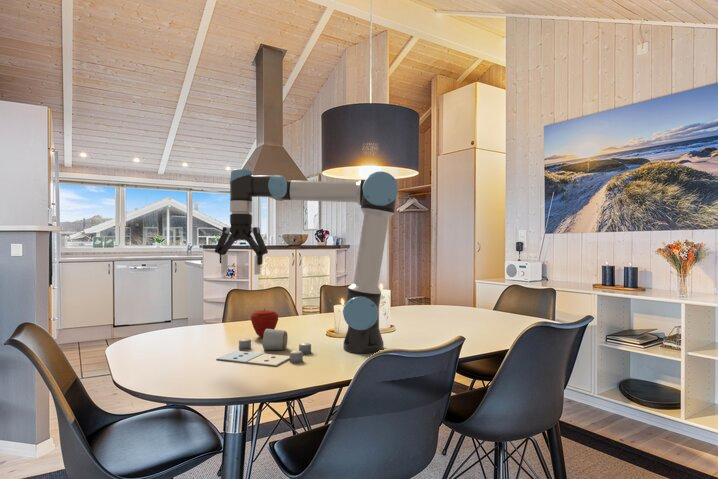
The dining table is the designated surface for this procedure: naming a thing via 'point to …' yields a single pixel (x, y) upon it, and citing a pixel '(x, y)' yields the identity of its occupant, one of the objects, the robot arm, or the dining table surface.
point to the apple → (264, 321)
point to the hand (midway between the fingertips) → (240, 273)
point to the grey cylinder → (274, 339)
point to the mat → (255, 358)
